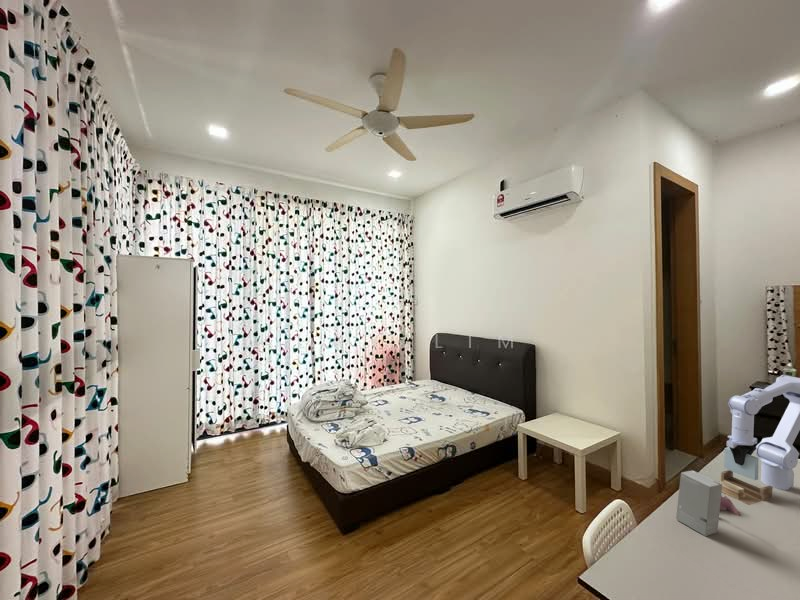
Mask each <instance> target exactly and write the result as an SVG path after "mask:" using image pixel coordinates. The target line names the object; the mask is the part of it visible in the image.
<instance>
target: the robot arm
mask: <svg viewBox="0 0 800 600" xmlns="http://www.w3.org/2000/svg"><path fill="white" fill-rule="evenodd" d="M781 395H783V396H784V398H786V399H788V400H789V403H788V405H787V407H786V408H785V411H784V413H783V415H782V416H781V419H780V421H779V423H778V425H777V427H776V429H775V431H774V433H773V434H772V436H770V437H769V436H768V437H762V439H761V441H760V442H759V443H758V438H757V437H754V430H755V429H754V427H755V425H754V424H755V415H757V414H758V413H759V412H760V410H761V409H762V407H764V406H765V405H768V404H770V403H772V402H773V398H775V397H778V396H781ZM727 405H728V407H729V408H730V413H731V415H732V416H731V418H732V419H731V435H730V434H729V435H727V438H728V440H726V447H727V448H730V449H731V451H732V454H733V457H734V461H735V463H736V464H739V465H743V464H744V461H745V457H746V454H748V455H751V456H753V453H754V452H755V455H756V457H757V458H758V461H761V466H760V468H761V469H760V471H761V472H760V482H761V483H763V484H764V485H766V486H772V487H773V488H774V489H777V490H783V491H789V489H790V488H793V489H794V487H795V486H794V484H795V482H794V481H795V480H794V479H795V472H794V470H793V469H795V468H796V467H797V466H798V463H799V456H800V452H799V451H798V450H797V448H796V447H795V446H794V445H793V444H794V442H795V440H796V438H797V436H798V434H799V432H800V377H795V376H791V375H787V374H781V375H780V376H778V377H776V379H775V382H772V383H771V384H770V385H768V386H766V387H765V388H758V387H755V388H754V389H753V390H751V391H747V393H743V394H742V395H733V396H731V397H730V398H729V400H728V402H727ZM756 444H757V445H756ZM754 445H756V446H754Z"/></svg>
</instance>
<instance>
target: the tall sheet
mask: <svg viewBox="0 0 800 600" xmlns="http://www.w3.org/2000/svg"><path fill="white" fill-rule="evenodd" d="M723 469H724V470H726V471H728V470H730V471H732V472H733V473H735V474H737V475H739V476H740V475H741V476H743V477H745V478H748V479H750V480H753V481H758V480H759V457H758V456H754V455H748V454H746V457H745V461H744V464H743V465H739V464H736V463H735V461H734V457H733V454H732V451H731V449H730V448H729V447H724V467H723Z"/></svg>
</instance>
